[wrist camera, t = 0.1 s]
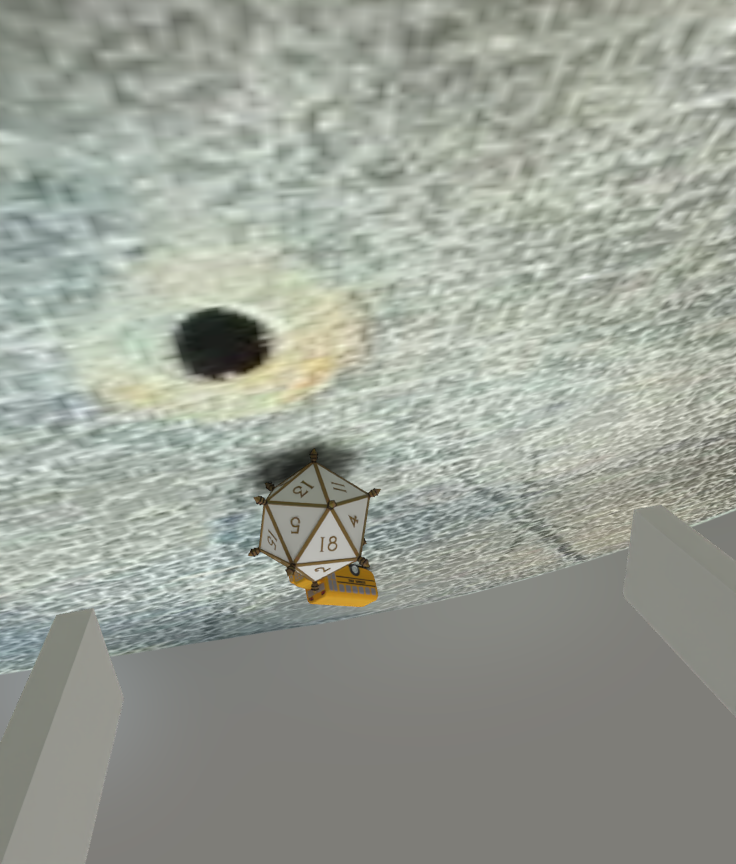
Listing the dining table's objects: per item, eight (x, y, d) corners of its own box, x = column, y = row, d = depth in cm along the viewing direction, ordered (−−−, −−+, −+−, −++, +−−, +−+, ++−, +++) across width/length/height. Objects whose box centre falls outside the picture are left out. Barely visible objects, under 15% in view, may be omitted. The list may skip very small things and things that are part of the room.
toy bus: (306, 556, 56) (313, 594, 54) (372, 564, 63) (380, 599, 61) (286, 567, 58) (291, 605, 56) (352, 575, 65) (358, 608, 63)
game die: (317, 413, 41) (426, 487, 37) (303, 500, 46) (398, 575, 42) (215, 459, 35) (331, 555, 31) (210, 554, 40) (310, 648, 35)
